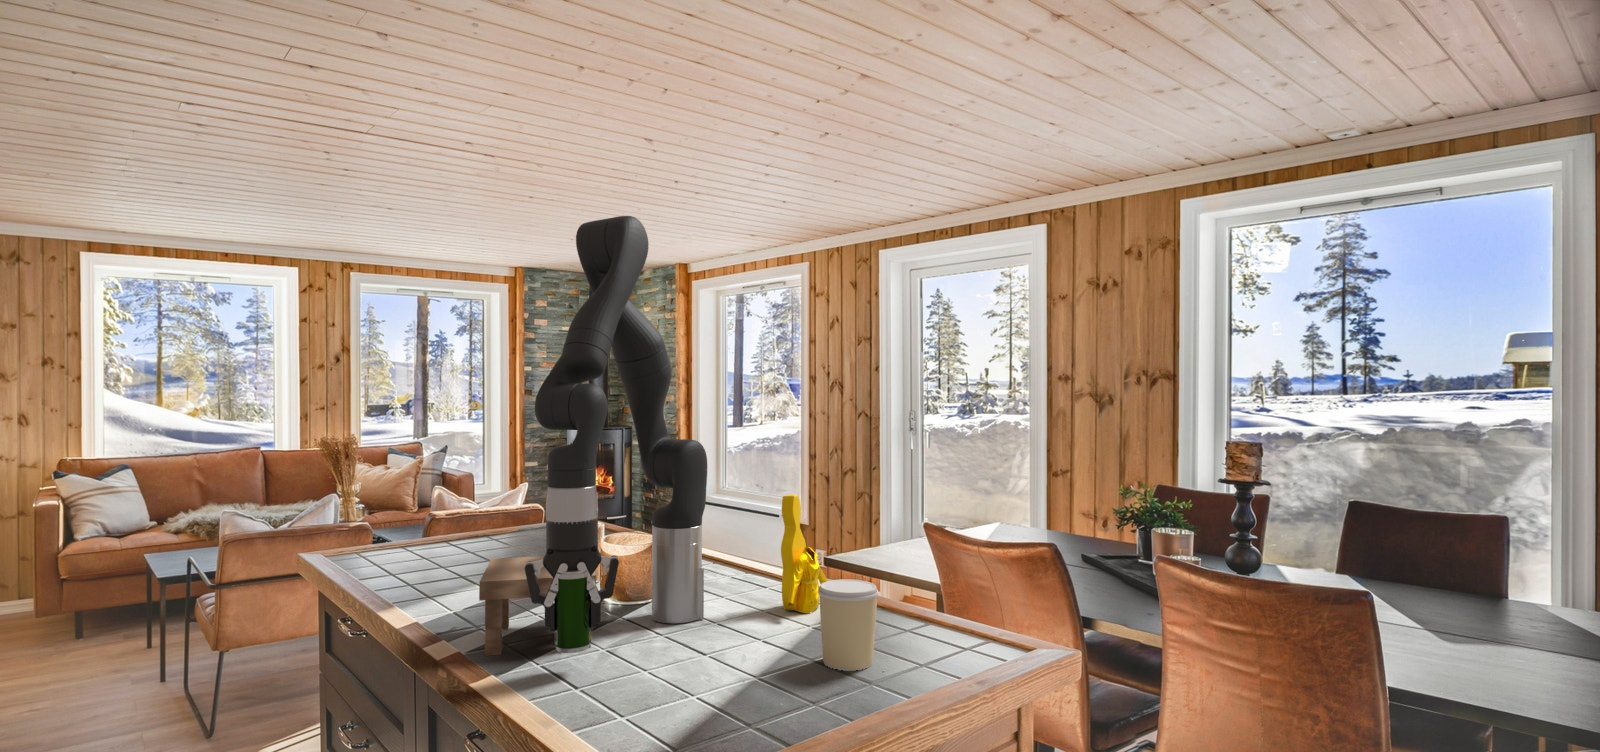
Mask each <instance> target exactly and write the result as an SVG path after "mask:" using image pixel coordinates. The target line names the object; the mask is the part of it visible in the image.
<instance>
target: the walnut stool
mask: <svg viewBox="0 0 1600 752" xmlns="http://www.w3.org/2000/svg"><path fill="white" fill-rule="evenodd" d="M544 556H545V555H542V556H524V557H523V556H521V557H503V558H501V557H499V558H491V559H490V560H489V562H488V565H487V566H486V568H485V570H484V572H483V574H482V576H481V577H480V579H479V584H478V585H479V587H478V588H479V591H478V592H479V593H478V594H479V595H478V596H479V597H478V599H479V601H482V602H483V601H484V656H497V655H499V656H500V655H502V652H503V651H502V650H503V631H505V630H509V628H510V600H512V599H529V598H530V599H531V596H530V591H529V587H528V582H527V578H526V573H525V565H526V563H527V562H528V561H532V562H534V561H538V560H542V559H543V558H544ZM596 570H597V569H596ZM596 570H595V571H594V573H593V574H592V576H593V579H594V581H595V584H596V585H597V571H596ZM552 579H553V577H552V576H551V575H550V573H549V572H548V571H547V570H546V568H545V567H542V568H541V572H540V575H538V576H537V580H538V585H539V590H540V593H542V594H547V591H548V589H549V587H550V584H551V581H552ZM591 644H592V643H591ZM591 644H590V646H589V648H590V649H591V648H592V647H591V646H592V645H591ZM589 648H588V649H589Z"/></svg>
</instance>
